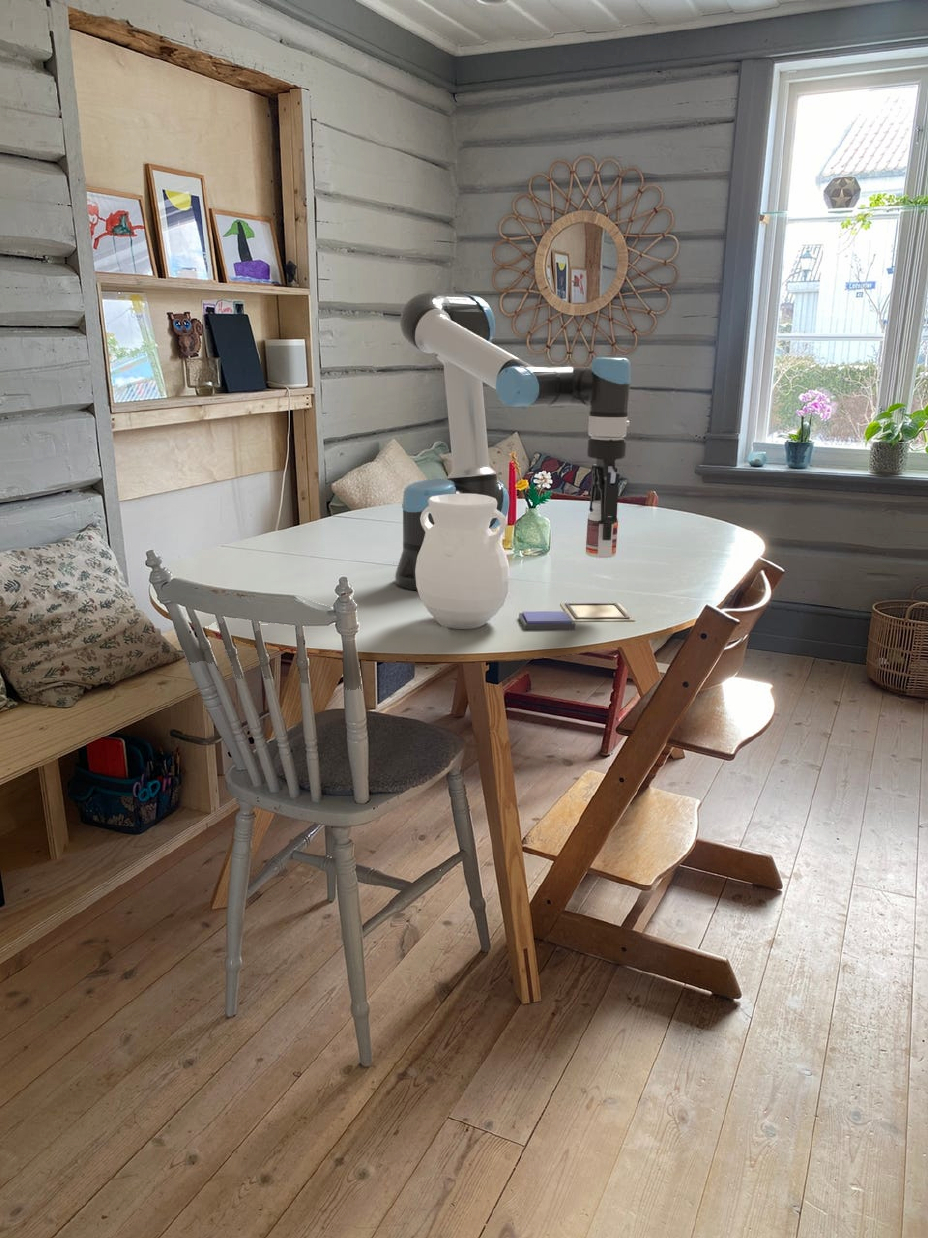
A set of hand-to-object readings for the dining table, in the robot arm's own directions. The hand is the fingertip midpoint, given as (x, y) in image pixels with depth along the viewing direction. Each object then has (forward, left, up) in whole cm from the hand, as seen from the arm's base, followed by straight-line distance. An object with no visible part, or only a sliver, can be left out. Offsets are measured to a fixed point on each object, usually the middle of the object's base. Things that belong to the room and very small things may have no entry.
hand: (600, 551), depth 195 cm
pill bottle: (0, 0, -1) cm, 1 cm away
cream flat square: (0, 0, -13) cm, 13 cm away
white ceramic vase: (-29, -7, -13) cm, 33 cm away
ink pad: (-12, -8, -13) cm, 19 cm away
